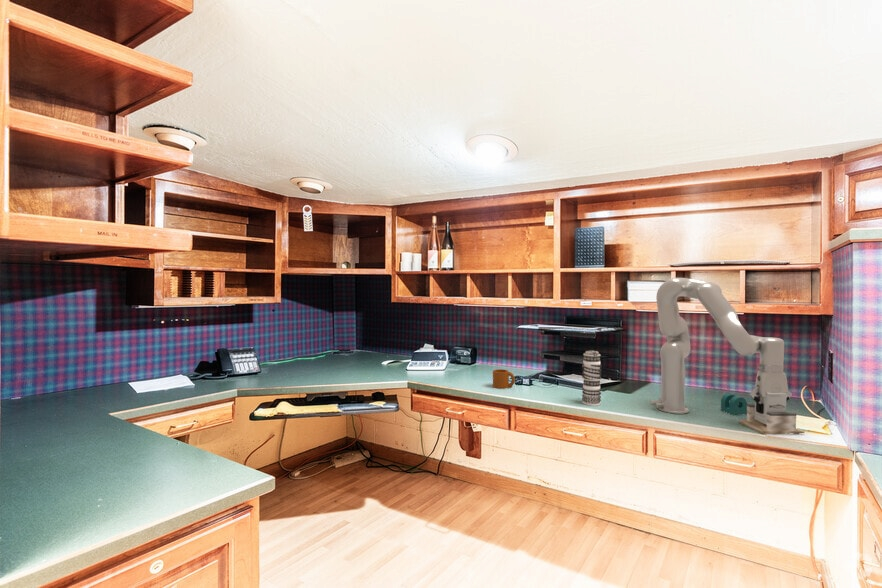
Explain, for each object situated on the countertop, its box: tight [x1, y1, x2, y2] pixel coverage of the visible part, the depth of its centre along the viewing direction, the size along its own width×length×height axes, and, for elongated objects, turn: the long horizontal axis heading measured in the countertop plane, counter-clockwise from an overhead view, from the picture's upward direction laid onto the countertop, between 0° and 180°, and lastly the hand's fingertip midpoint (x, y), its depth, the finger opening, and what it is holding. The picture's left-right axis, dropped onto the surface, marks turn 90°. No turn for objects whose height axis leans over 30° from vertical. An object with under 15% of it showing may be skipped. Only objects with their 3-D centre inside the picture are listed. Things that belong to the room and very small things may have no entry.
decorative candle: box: [581, 350, 603, 406], centre depth 206 cm, size 9×9×25 cm
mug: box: [492, 369, 516, 390], centre depth 237 cm, size 9×12×9 cm
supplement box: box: [754, 391, 787, 425], centre depth 171 cm, size 7×7×13 cm
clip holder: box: [738, 403, 805, 435], centre depth 171 cm, size 16×13×8 cm
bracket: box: [720, 393, 748, 416], centre depth 192 cm, size 18×7×8 cm, turn 99°
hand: (770, 412), depth 171 cm, fingers closed on supplement box, 7 cm apart
